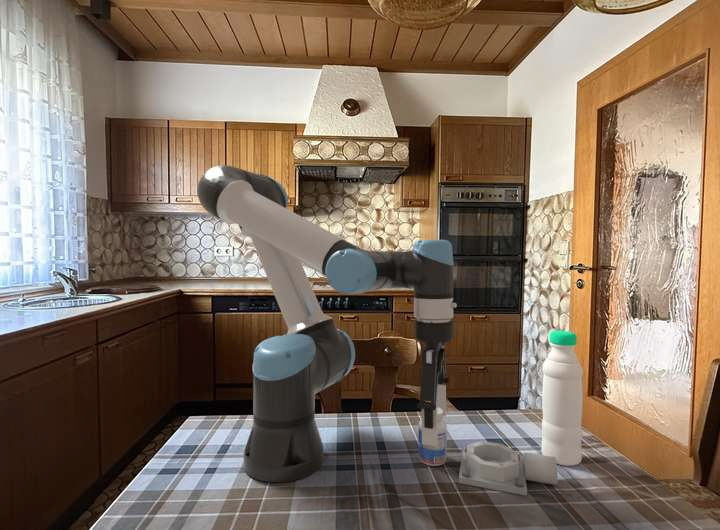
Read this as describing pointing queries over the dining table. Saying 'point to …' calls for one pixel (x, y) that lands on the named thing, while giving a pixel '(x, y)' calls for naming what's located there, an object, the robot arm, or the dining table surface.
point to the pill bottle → (434, 453)
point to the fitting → (504, 468)
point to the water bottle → (562, 401)
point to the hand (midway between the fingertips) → (434, 428)
